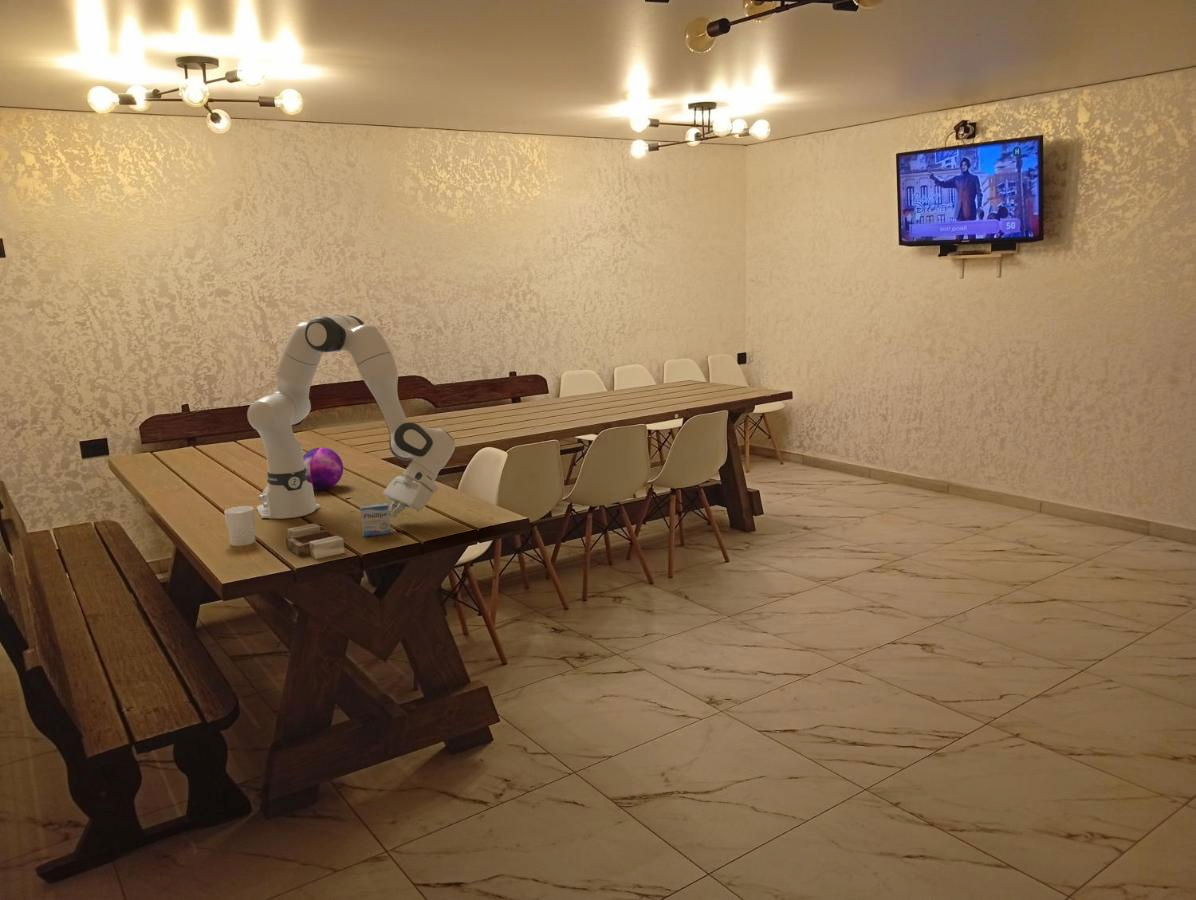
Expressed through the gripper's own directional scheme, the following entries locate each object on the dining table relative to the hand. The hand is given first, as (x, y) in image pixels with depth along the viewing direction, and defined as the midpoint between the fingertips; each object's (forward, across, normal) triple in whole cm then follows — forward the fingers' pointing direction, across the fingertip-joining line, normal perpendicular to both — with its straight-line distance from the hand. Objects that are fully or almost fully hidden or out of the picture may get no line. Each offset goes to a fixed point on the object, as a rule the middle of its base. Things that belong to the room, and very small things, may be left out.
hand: (390, 516), depth 266 cm
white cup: (+29, -20, -23) cm, 42 cm away
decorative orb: (0, -66, +7) cm, 66 cm away
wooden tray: (+19, 0, -13) cm, 23 cm away
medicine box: (+7, 0, 0) cm, 7 cm away
